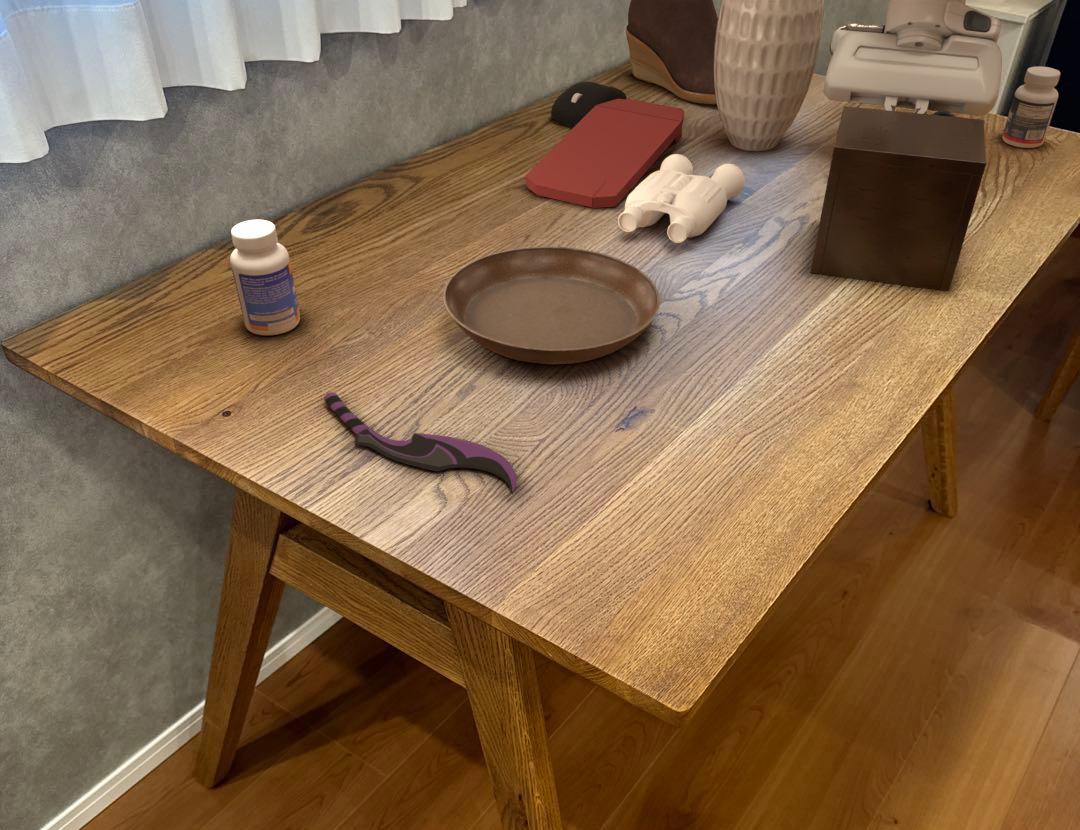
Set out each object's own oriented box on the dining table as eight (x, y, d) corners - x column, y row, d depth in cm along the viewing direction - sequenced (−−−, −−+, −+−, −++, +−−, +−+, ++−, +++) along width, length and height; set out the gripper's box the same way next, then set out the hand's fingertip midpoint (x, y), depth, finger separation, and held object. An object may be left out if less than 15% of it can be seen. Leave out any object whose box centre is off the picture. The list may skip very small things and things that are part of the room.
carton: (611, 238, 121) (695, 139, 135) (610, 201, 117) (697, 103, 131) (523, 217, 125) (613, 123, 139) (519, 181, 122) (612, 88, 135)
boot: (740, 118, 141) (761, -46, 128) (607, 80, 154) (613, -73, 140) (775, 102, 146) (798, -57, 133) (643, 66, 159) (652, -82, 145)
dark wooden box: (949, 241, 112) (984, 119, 104) (949, 291, 104) (986, 163, 95) (821, 225, 116) (843, 105, 107) (810, 272, 107) (834, 146, 98)
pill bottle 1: (311, 323, 99) (296, 228, 93) (264, 343, 96) (244, 247, 90) (280, 303, 102) (263, 210, 96) (233, 322, 99) (212, 228, 93)
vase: (684, 142, 135) (707, -108, 116) (746, 119, 141) (777, -121, 123) (760, 169, 128) (798, -91, 109) (821, 144, 134) (867, -106, 115)
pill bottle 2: (1008, 131, 138) (1029, 61, 132) (1048, 139, 135) (1071, 69, 129) (996, 143, 134) (1016, 72, 128) (1036, 152, 132) (1059, 80, 126)
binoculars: (743, 201, 120) (748, 162, 117) (695, 256, 110) (699, 214, 107) (661, 185, 124) (664, 147, 121) (606, 236, 113) (608, 195, 110)
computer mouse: (639, 110, 144) (641, 80, 141) (586, 133, 137) (586, 102, 134) (598, 98, 148) (599, 69, 145) (544, 120, 141) (544, 90, 138)
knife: (331, 396, 89) (295, 427, 86) (329, 388, 89) (293, 420, 86) (537, 467, 82) (506, 504, 79) (536, 459, 81) (505, 496, 78)
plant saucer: (624, 264, 108) (626, 235, 106) (686, 366, 93) (689, 334, 91) (432, 284, 105) (429, 254, 103) (463, 392, 90) (461, 360, 88)
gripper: (836, 6, 123) (813, 117, 123) (1015, 22, 119) (991, 136, 118) (833, 35, 129) (810, 141, 129) (1003, 51, 125) (980, 160, 124)
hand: (898, 139), depth 123 cm, fingers closed
